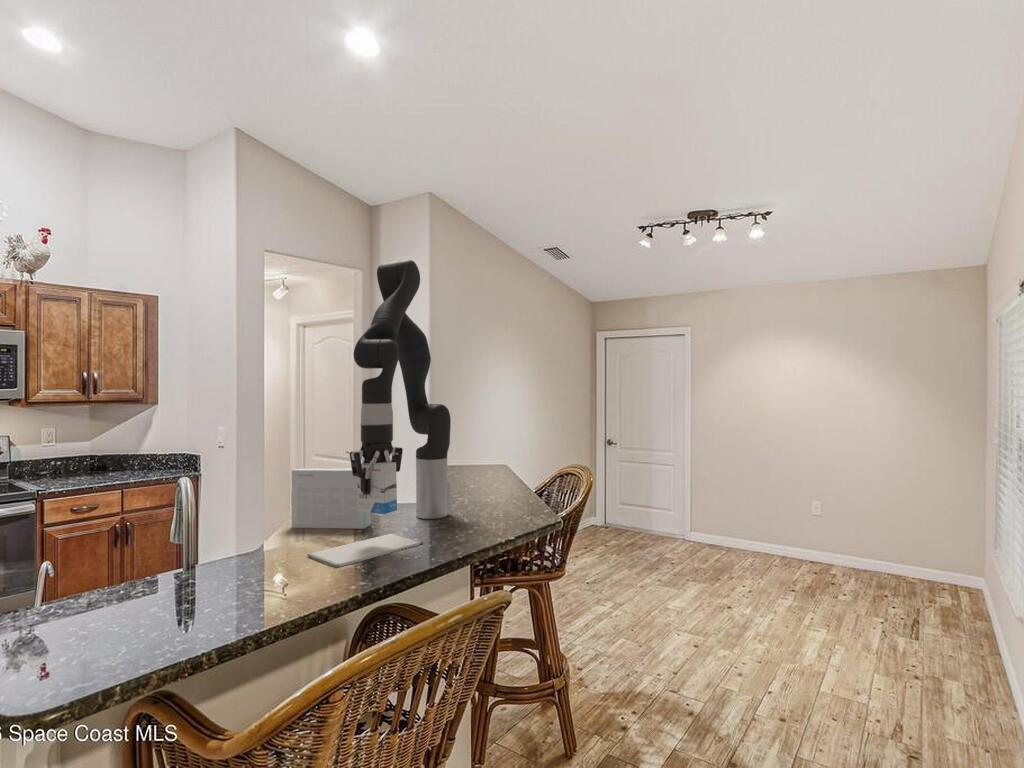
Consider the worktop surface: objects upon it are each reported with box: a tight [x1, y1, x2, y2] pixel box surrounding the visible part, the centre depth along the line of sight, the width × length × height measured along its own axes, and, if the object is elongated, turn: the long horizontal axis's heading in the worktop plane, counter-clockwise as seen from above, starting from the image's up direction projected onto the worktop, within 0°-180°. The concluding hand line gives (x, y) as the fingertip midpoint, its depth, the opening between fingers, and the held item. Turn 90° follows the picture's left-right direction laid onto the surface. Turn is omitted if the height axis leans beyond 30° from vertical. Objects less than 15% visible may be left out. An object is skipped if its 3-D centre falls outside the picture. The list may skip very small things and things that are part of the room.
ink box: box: [357, 461, 398, 515], centre depth 139 cm, size 9×5×12 cm, turn 62°
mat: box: [306, 532, 424, 569], centre depth 136 cm, size 24×12×1 cm, turn 139°
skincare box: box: [290, 467, 372, 530], centre depth 160 cm, size 21×5×16 cm, turn 84°
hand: (377, 492), depth 139 cm, fingers closed on ink box, 5 cm apart
